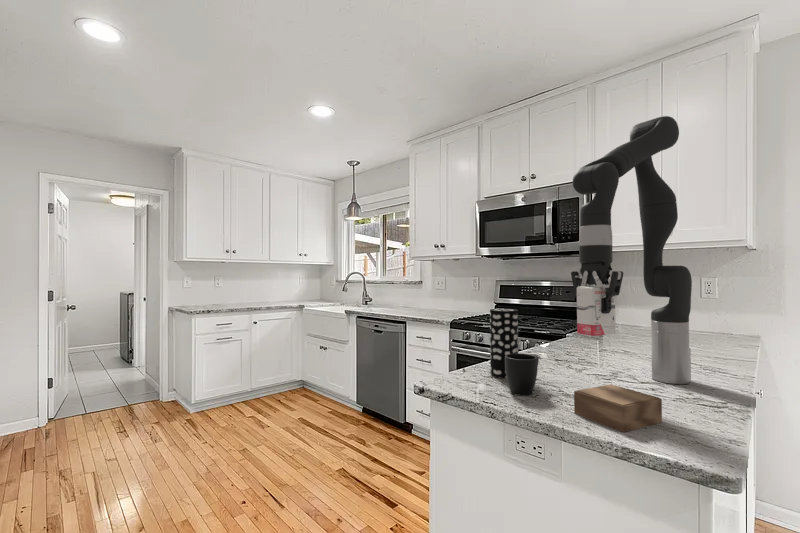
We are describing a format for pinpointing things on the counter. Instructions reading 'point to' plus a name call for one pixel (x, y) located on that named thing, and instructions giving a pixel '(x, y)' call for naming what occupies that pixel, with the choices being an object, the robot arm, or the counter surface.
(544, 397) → the counter surface
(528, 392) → the mug
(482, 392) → the counter surface
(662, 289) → the robot arm
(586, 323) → the ink box
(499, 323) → the white-spotted black cylinder
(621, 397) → the brown flat block
